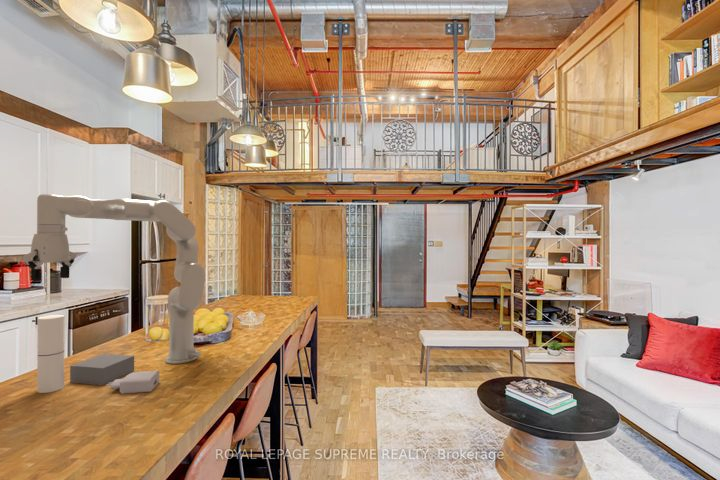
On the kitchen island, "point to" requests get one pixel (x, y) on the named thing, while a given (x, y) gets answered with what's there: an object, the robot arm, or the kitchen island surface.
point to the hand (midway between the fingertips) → (51, 279)
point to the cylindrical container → (50, 353)
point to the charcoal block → (101, 369)
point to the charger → (136, 382)
